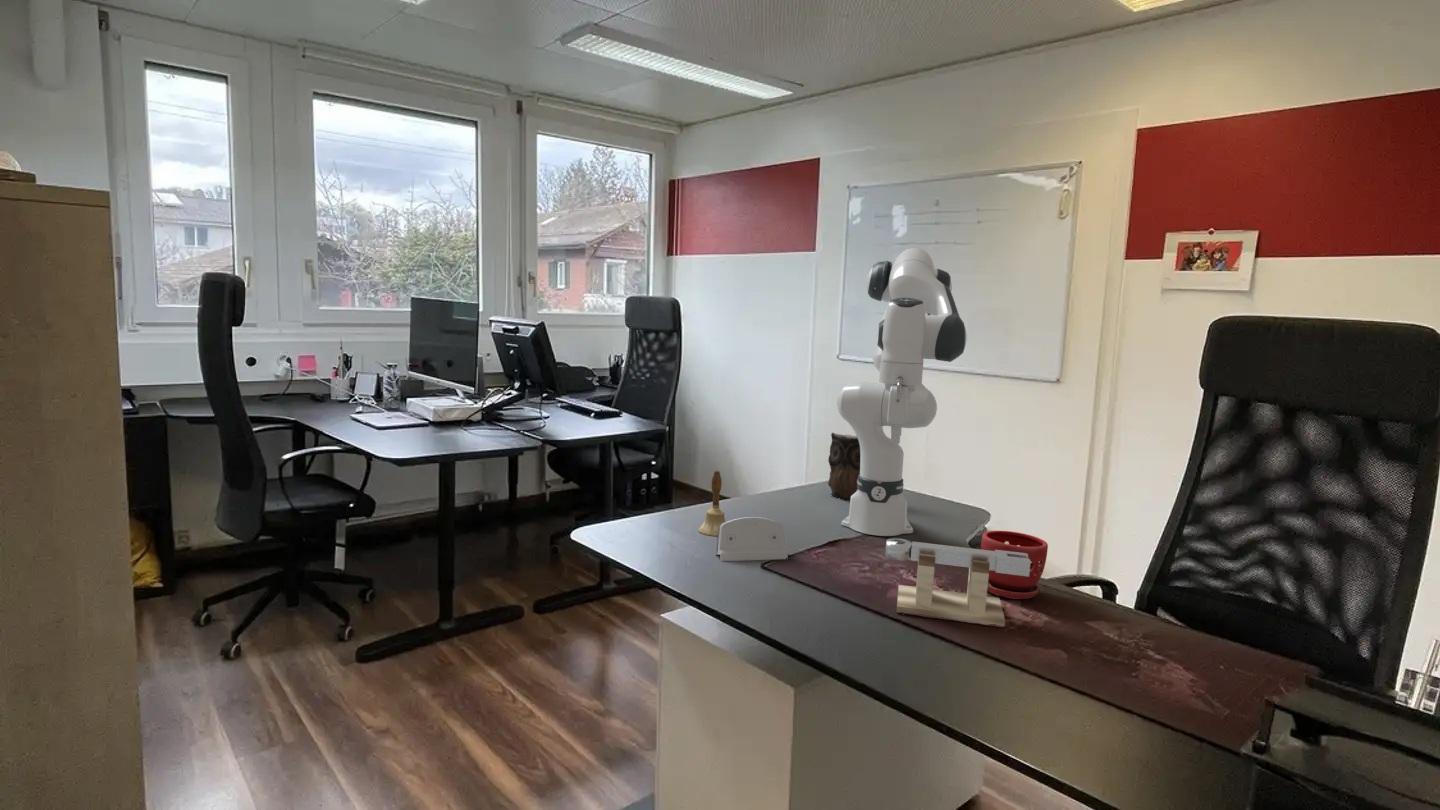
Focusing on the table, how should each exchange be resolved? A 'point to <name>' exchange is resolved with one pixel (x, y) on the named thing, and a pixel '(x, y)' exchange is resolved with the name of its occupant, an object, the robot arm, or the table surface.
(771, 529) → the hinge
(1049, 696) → the table surface
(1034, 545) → the plant pot
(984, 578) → the tool rest
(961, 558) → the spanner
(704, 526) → the hand bell
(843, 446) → the owl
